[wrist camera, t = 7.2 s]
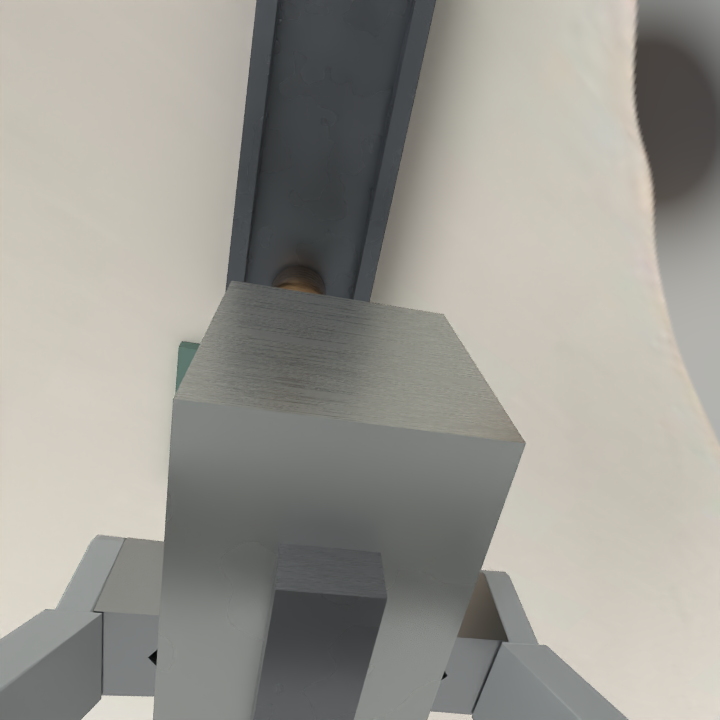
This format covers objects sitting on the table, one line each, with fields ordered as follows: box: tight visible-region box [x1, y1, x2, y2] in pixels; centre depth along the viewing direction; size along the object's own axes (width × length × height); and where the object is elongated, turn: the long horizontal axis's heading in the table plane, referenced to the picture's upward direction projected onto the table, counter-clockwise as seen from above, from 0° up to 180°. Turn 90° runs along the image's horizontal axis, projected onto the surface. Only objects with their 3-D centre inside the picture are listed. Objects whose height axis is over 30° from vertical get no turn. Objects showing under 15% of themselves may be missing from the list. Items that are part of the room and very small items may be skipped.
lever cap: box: [153, 280, 526, 720], centre depth 10 cm, size 9×4×6 cm, turn 169°
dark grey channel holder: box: [226, 0, 436, 302], centre depth 24 cm, size 20×7×7 cm, turn 168°
